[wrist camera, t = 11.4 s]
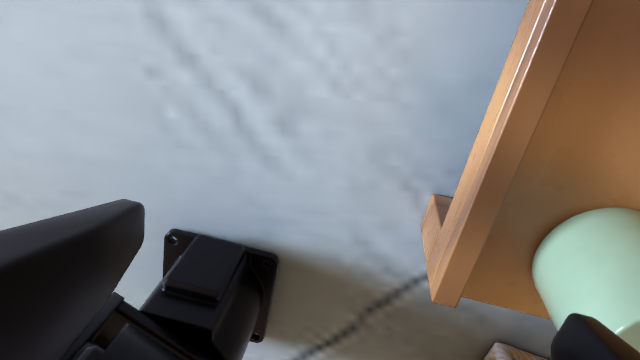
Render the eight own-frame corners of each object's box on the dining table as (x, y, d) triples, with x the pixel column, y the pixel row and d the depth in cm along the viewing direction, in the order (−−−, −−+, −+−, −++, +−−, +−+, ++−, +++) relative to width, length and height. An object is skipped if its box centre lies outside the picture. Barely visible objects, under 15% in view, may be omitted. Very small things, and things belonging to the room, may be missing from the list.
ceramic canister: (632, 327, 16) (725, 455, 12) (510, 297, 17) (557, 411, 12) (704, 225, 14) (851, 333, 10) (565, 191, 15) (645, 282, 10)
